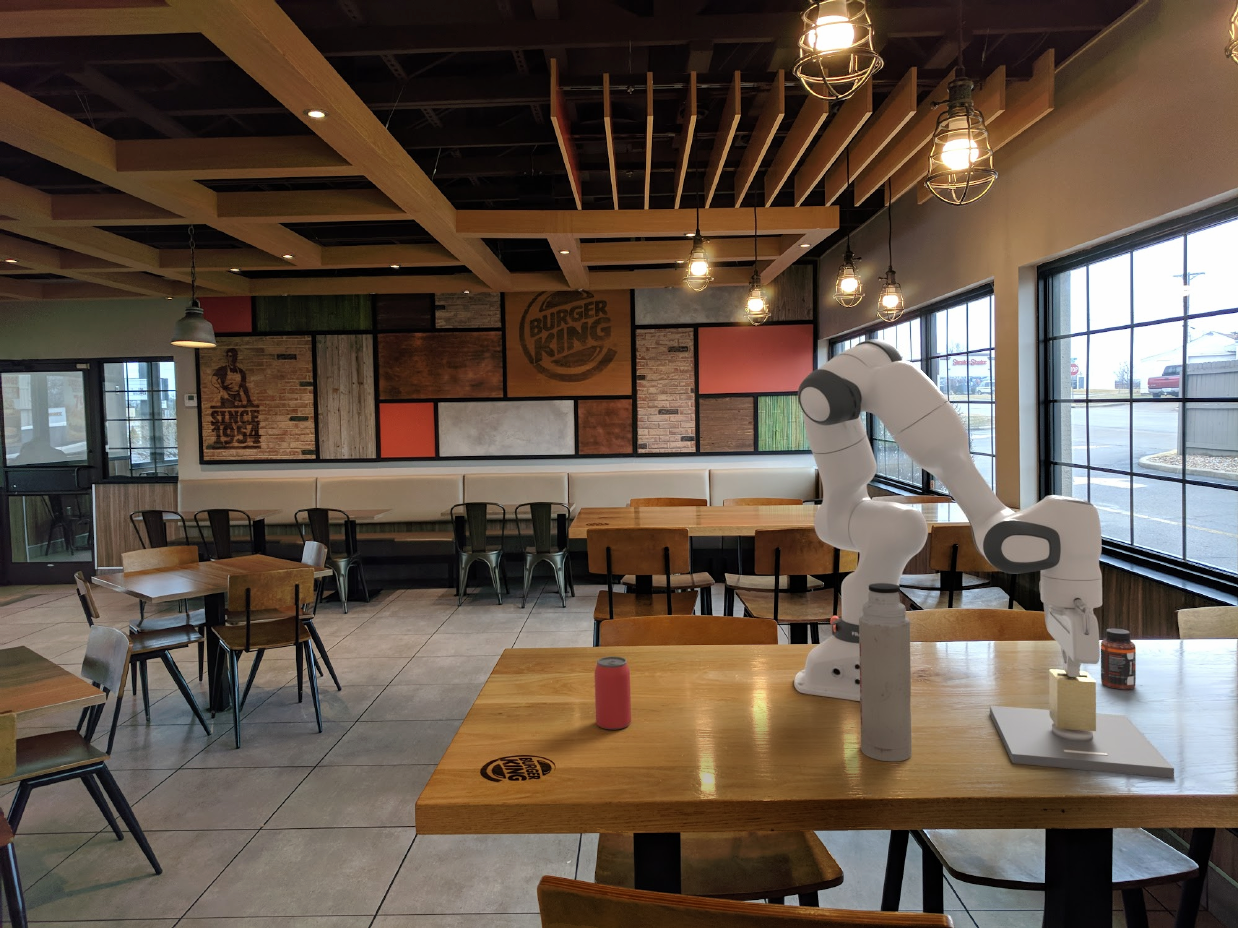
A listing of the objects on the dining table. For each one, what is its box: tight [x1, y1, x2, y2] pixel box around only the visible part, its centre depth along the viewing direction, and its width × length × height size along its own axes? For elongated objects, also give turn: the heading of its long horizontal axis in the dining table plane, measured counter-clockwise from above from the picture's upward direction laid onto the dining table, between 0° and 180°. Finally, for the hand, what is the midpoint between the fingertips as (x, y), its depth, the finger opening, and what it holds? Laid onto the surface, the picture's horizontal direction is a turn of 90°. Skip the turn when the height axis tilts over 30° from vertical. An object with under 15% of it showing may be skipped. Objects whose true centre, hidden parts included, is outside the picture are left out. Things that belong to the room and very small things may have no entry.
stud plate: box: [989, 705, 1175, 779], centre depth 129 cm, size 22×22×10 cm
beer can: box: [594, 656, 632, 731], centre depth 143 cm, size 7×7×12 cm
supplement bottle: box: [1100, 628, 1137, 690], centre depth 156 cm, size 6×6×11 cm
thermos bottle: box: [859, 583, 913, 763], centre depth 127 cm, size 8×8×28 cm
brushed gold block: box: [1048, 669, 1097, 731], centre depth 129 cm, size 6×6×8 cm
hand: (1071, 674), depth 129 cm, fingers closed, pressing on brushed gold block
